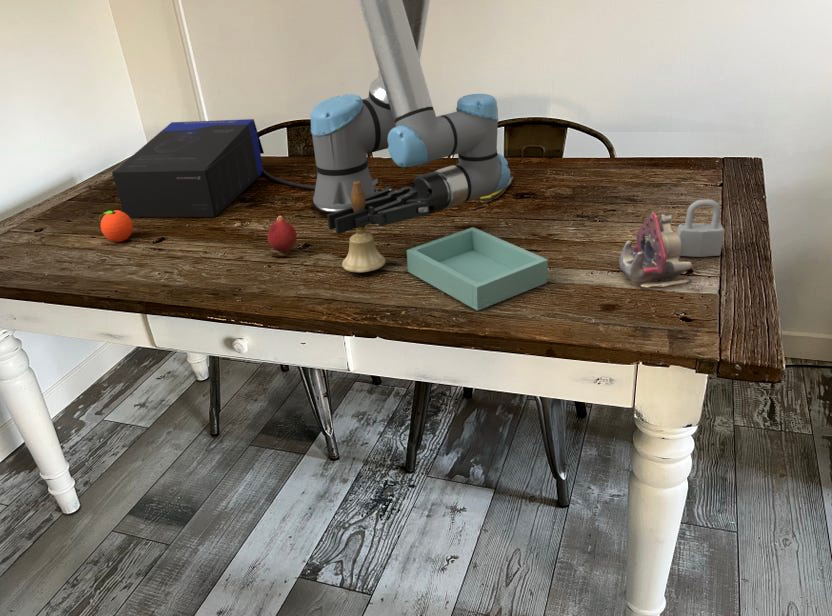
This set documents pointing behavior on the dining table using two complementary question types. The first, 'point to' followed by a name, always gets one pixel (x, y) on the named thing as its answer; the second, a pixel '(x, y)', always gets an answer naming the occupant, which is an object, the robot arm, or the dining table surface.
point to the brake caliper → (654, 254)
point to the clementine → (116, 225)
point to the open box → (477, 267)
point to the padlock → (701, 232)
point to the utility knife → (496, 194)
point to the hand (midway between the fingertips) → (332, 224)
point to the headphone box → (190, 169)
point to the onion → (282, 235)
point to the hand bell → (361, 241)
